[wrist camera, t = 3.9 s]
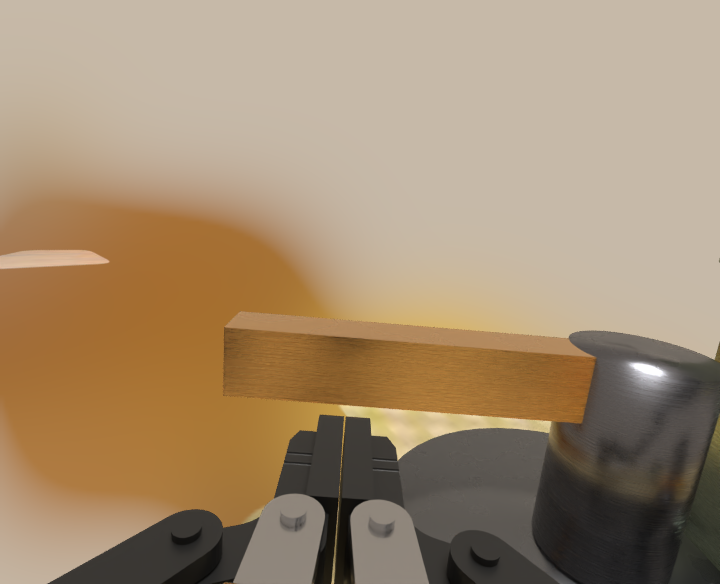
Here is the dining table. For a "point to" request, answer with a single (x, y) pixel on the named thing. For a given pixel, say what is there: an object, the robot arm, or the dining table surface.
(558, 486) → the wooden handled mallet
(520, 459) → the base
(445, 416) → the dining table surface
